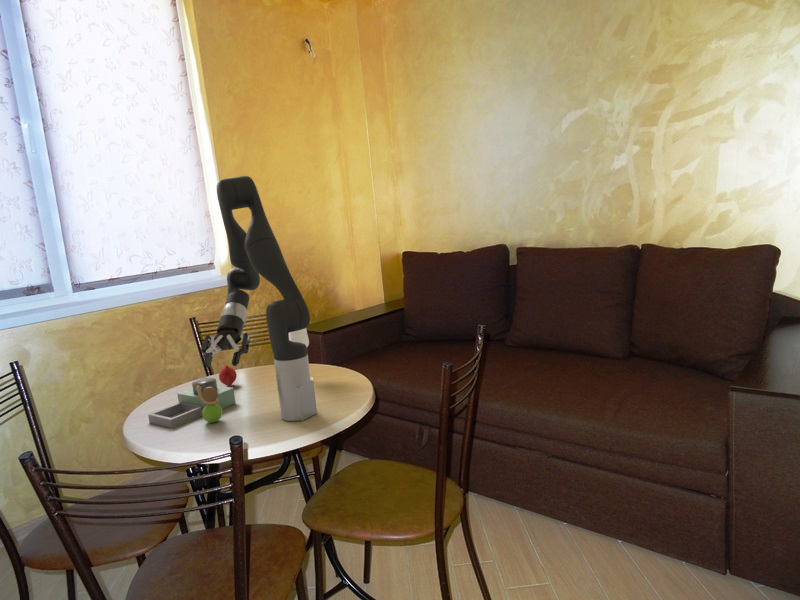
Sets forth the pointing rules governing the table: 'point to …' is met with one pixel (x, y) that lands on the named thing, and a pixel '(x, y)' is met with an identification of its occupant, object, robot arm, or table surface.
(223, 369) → the onion
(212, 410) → the snail figurine
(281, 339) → the robot arm
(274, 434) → the table surface
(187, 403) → the box with drawer
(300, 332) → the champagne flute
